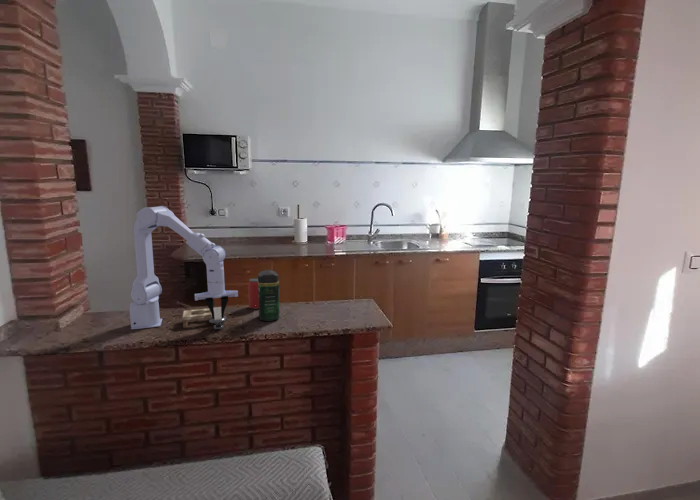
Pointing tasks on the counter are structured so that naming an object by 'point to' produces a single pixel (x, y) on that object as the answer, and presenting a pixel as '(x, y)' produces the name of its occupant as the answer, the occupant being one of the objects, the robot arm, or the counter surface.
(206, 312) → the keyhole bridge
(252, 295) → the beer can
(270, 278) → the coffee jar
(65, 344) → the counter surface
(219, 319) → the hanger peg
